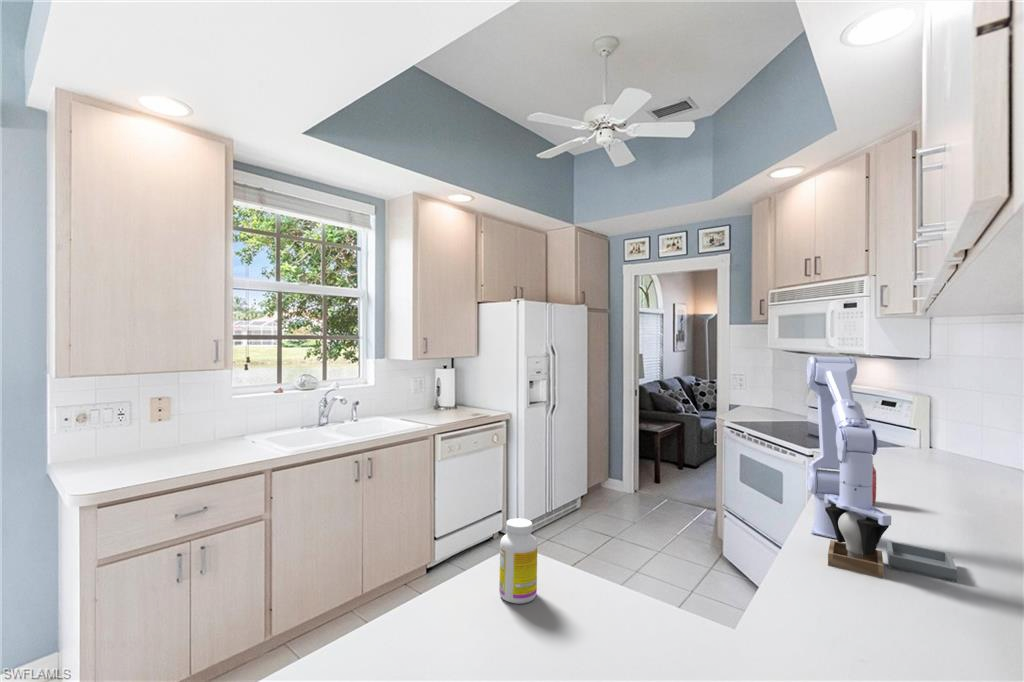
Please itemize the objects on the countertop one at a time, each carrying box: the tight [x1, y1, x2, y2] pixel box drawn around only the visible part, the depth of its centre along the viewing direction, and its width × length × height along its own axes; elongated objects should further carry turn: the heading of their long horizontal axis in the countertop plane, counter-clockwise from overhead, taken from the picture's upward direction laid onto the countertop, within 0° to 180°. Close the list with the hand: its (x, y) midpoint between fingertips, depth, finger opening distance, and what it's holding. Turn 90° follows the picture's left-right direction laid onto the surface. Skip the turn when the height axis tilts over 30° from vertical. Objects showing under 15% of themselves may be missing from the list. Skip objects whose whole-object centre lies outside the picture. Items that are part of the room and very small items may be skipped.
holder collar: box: [827, 539, 884, 579], centre depth 101 cm, size 9×9×2 cm
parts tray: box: [886, 539, 958, 583], centre depth 101 cm, size 11×11×2 cm
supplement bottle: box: [498, 517, 538, 605], centre depth 85 cm, size 7×7×13 cm
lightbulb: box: [838, 511, 866, 560], centre depth 102 cm, size 6×6×11 cm
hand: (855, 547), depth 101 cm, fingers closed on lightbulb, 6 cm apart
